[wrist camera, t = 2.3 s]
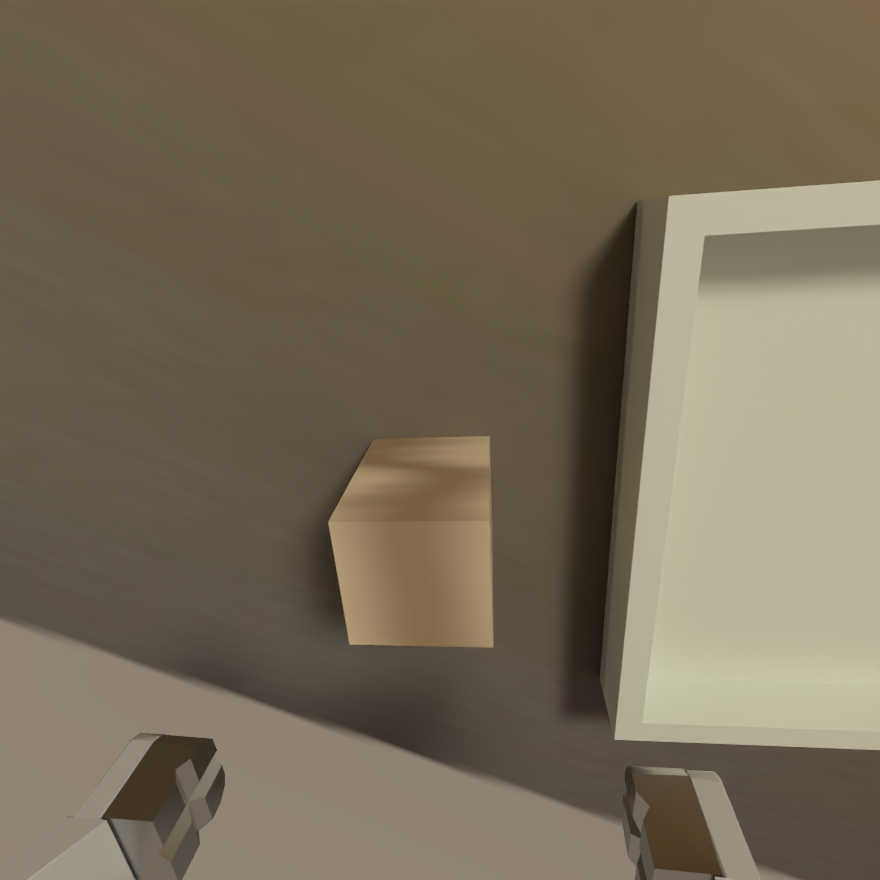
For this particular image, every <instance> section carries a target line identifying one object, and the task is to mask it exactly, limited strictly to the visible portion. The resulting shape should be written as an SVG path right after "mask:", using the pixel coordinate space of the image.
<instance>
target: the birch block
mask: <svg viewBox="0 0 880 880" xmlns="http://www.w3.org/2000/svg"><path fill="white" fill-rule="evenodd" d="M328 524H329V530H330V535H331V541H332V547H333V552H334V558H335V564H336V570H337V575H338V581H339V587H340V592H341V598H342V604H343V609H344V615H345V621H346V627H347V632H348V638H349V644H352V645H401V646H449V647H493V557H492V508H491V473H490V439H489V436H481V437H441V438H401V439H373V441H372V443H371V444H370V446H369V448H368V450H367V452H366V454H365V455H364V457H363V459H362V461H361V463H360V465H359V466H358V468H357V470H356V472H355V474H354V476H353V477H352V479H351V481H350V483H349V485H348V487H347V488H346V490H345V492H344V494H343V496H342V498H341V499H340V501H339V503H338V505H337V507H336V509H335V510H334V512H333V514H332V516H331V518H330V520H329V521H328Z"/></svg>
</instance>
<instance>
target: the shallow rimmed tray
mask: <svg viewBox="0 0 880 880" xmlns="http://www.w3.org/2000/svg"><path fill="white" fill-rule="evenodd" d="M600 683H601V687H602V691H603V695H604V699H605V703H606V707H607V711H608V715H609V719H610V724H611V728H612V732H613V736H614V740H638V741H663V742H689V743H715V744H740V745H766V746H791V747H817V748H843V749H868V750H880V181H868V182H854V183H841V184H827V185H814V186H800V187H786V188H773V189H759V190H746V191H732V192H718V193H705V194H691V195H677V196H667V197H661V198H655V199H649V200H643V201H638V202H637V210H636V223H635V235H634V248H633V261H632V273H631V286H630V299H629V312H628V324H627V337H626V350H625V362H624V375H623V388H622V401H621V413H620V426H619V439H618V451H617V464H616V477H615V490H614V502H613V515H612V528H611V540H610V553H609V566H608V578H607V591H606V604H605V617H604V629H603V642H602V655H601V667H600Z"/></svg>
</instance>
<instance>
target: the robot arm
mask: <svg viewBox="0 0 880 880" xmlns="http://www.w3.org/2000/svg"><path fill="white" fill-rule="evenodd" d="M216 751H217V749H216V747H215V744H214V742H213V739H208V738H196V737H184V736H183V737H182V736H170V735H163V734H148V733H147V734H146V733H140V734H139V735H137V736H136V737H135V738H133V739H132V740H131V741H130V742H129V743H128V745H127V746H126V748H125V749H124V750H123V752H122V753H121V754H120V756H119V757H118V758H117V760H116V761H115V762H114V764H113V765H112V766H111V768H110V769H109V770H108V772H107V773H106V775H105V776H104V777H103V778H102V780H101V781H100V783H99V784H98V785H97V787H96V788H95V789H94V791H93V792H92V793H91V795H90V796H89V797H88V799H87V800H86V802H85V803H84V804H83V805H82V807H81V808H80V809H79V811H78V812H77V814H76V815H75V816H67V817H66V818H64V819H63V820H61V821H60V822H58V823H57V824H55V825H54V826H53V827H52V828H50V829H48V830H47V831H46V832H44V833H43V834H42V835H40V836H39V837H37V838H36V839H34V840H33V841H32V842H30V843H29V844H27V845H26V846H25V847H23V848H22V849H21V850H19V851H18V852H16V853H15V854H13V855H12V856H11V857H9V858H8V859H6V860H5V861H4V862H2V863H1V864H0V880H182V879H183V877H184V875H185V873H186V871H187V869H188V867H189V865H190V863H191V861H192V859H193V857H194V855H195V853H196V850H197V849H198V847H199V845H200V839H199V830H200V829H202V827H204V826H205V825H206V824H207V823H208V822H210V821H211V820H212V819H213V817H214V815H215V813H216V811H217V808H218V806H219V804H220V802H221V798H222V793H223V790H224V786H225V774H224V771H223V767H222V765H221V764H220V763H219V762H218V761H216V760H215V759H214V758H213V756H214V754H215V752H216ZM625 783H626V788H627V793H625V794H624V795H623V800H622V819H623V830H624V837H625V842H626V848H627V853H628V857H629V858H630V860H631V861H632V862H633V863H634V865H635V866H636V876H635V880H761V878H760V875H759V873H758V871H757V868H756V866H755V863H754V861H753V858H752V856H751V853H750V851H749V848H748V846H747V843H746V841H745V838H744V836H743V833H742V831H741V828H740V826H739V823H738V821H737V818H736V816H735V813H734V811H733V808H732V806H731V803H730V801H729V799H728V796H727V794H726V791H725V789H724V786H723V784H722V781H721V779H720V778H719V776H718V775H717V774H716V773H715V772H713V771H693V770H683V769H675V768H654V767H634V766H628V767H627V768H626V771H625Z"/></svg>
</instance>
